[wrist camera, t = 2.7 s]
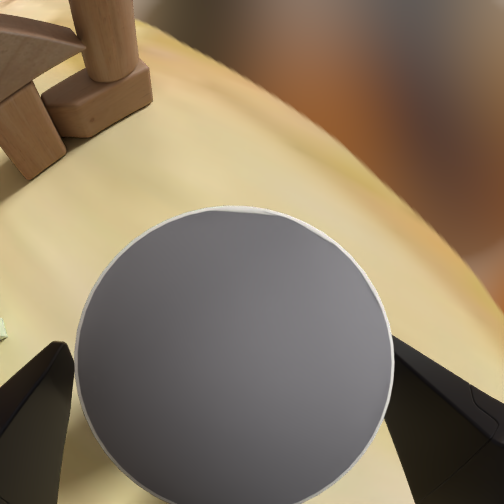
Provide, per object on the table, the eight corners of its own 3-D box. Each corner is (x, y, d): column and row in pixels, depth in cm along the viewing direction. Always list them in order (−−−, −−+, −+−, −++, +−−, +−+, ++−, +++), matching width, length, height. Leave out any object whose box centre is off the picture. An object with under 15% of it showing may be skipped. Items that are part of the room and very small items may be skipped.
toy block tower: (16, 153, 18) (-84, -40, 1) (133, 79, 21) (116, -132, 4) (29, 184, 17) (-98, -31, 1) (155, 103, 21) (147, -139, 4)
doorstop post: (271, 374, 16) (433, 406, 4) (196, 412, 15) (180, 555, 3) (231, 301, 17) (300, 165, 5) (156, 338, 16) (32, 285, 4)
